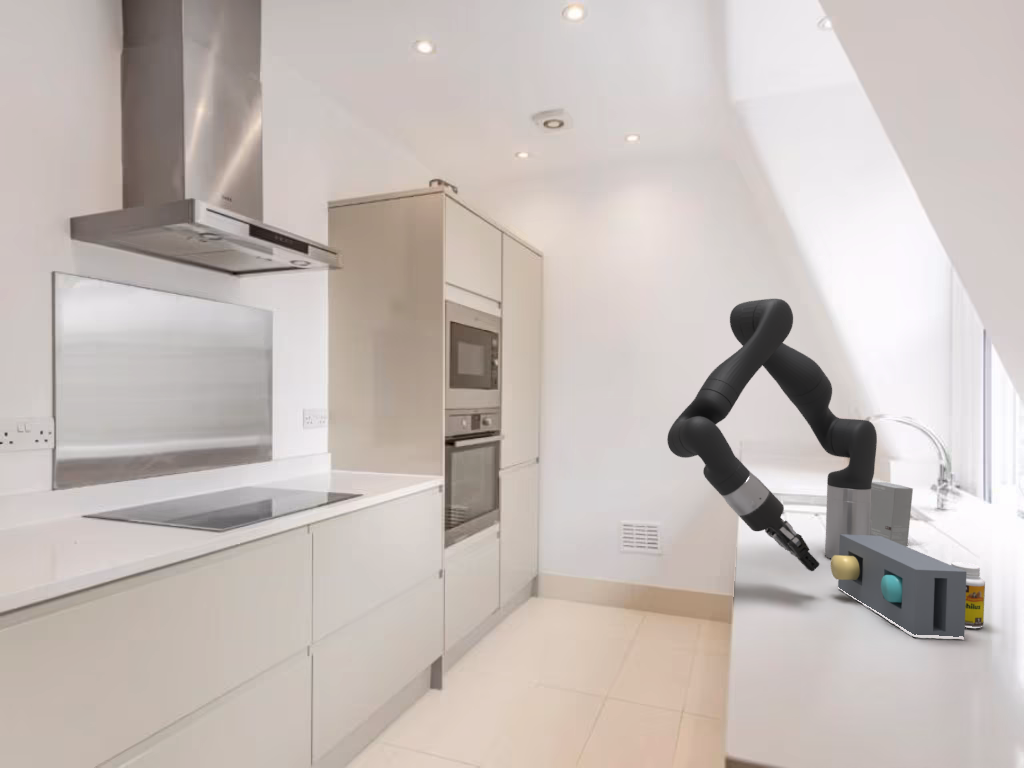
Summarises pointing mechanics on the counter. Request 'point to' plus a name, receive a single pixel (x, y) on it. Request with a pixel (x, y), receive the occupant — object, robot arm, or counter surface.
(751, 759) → the counter surface
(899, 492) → the skincare box
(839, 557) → the mustard button
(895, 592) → the teal button
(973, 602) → the supplement bottle
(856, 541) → the console
